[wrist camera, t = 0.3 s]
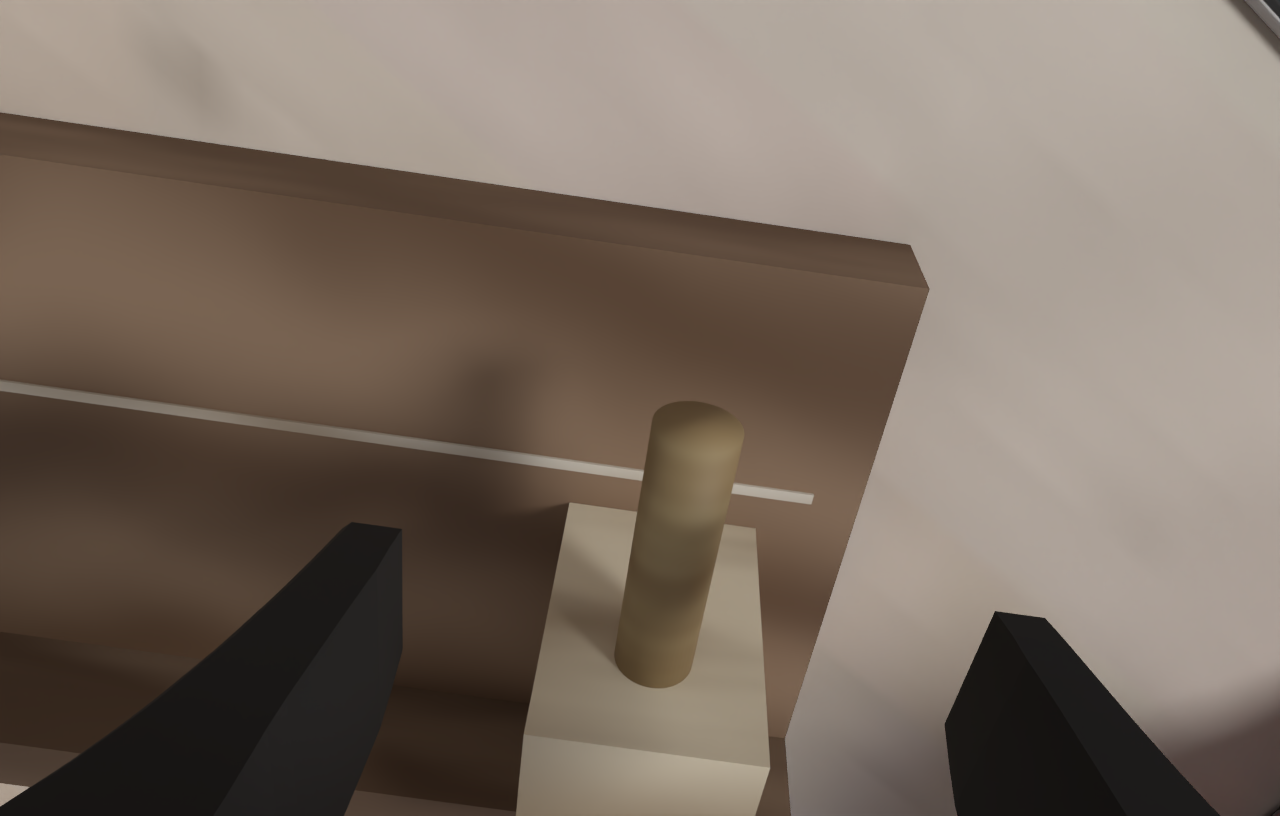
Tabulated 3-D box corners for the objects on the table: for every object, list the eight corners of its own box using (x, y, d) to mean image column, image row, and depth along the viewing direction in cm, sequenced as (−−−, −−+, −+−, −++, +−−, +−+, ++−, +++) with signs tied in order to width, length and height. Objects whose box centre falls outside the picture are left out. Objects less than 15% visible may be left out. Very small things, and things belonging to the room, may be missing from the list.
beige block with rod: (715, 687, 23) (717, 934, 18) (550, 664, 23) (507, 906, 18) (807, 322, 18) (845, 530, 13) (593, 291, 18) (546, 488, 13)
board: (768, 713, 27) (779, 886, 22) (-105, 594, 26) (-261, 748, 22) (910, 244, 19) (967, 373, 15) (-315, 66, 19) (-614, 146, 14)
